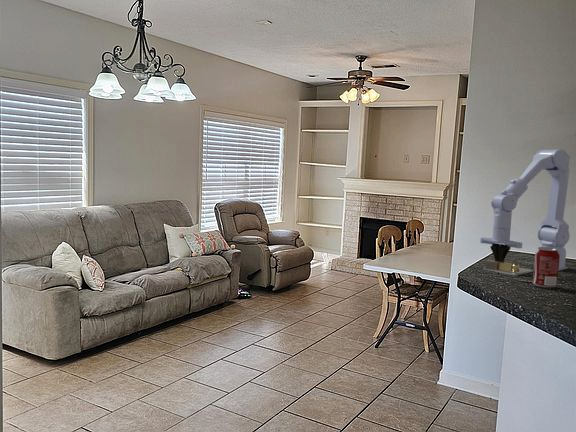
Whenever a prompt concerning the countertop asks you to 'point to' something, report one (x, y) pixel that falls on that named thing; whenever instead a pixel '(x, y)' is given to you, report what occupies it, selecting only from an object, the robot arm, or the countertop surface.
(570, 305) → the countertop surface
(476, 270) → the countertop surface
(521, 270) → the plate
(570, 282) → the countertop surface
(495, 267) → the keeper
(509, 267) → the swing bar
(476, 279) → the countertop surface
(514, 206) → the robot arm
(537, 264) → the soda can
